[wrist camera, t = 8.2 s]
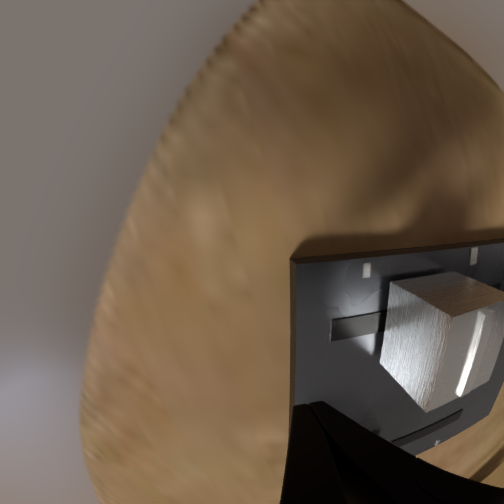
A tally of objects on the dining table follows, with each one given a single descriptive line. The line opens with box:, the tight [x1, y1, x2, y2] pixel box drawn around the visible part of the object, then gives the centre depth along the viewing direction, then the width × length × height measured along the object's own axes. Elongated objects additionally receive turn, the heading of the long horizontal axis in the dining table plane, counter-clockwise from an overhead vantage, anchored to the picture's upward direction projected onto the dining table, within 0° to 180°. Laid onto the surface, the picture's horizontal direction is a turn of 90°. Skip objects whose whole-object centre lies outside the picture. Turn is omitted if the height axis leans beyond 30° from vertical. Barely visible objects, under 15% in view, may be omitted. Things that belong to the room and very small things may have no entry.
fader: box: [380, 271, 504, 413], centre depth 10 cm, size 4×4×4 cm
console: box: [288, 239, 504, 456], centre depth 14 cm, size 19×16×1 cm
